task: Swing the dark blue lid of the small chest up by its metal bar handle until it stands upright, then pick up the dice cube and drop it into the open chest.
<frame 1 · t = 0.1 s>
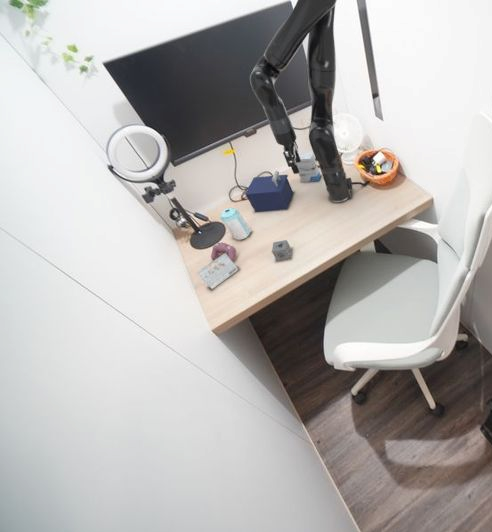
hand: (297, 167, 128), 17 cm above the table, tool pointing down, fingers open, 8 cm apart
lid: (265, 180, 135), point 11 cm above the table, hinge at 0.0°
ink box: (311, 178, 153), on the table
ink box 2: (224, 278, 117), on the table
dice cube: (284, 255, 121), on the table
can: (243, 235, 132), on the table
video game controller: (227, 257, 124), on the table
chest: (274, 202, 144), on the table
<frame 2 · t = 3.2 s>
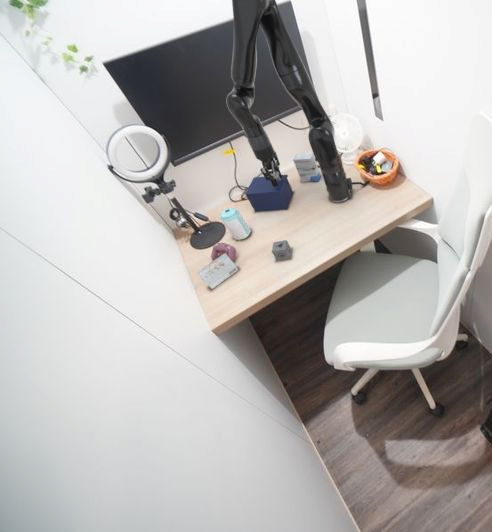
hand: (277, 181, 136), 10 cm above the table, tool pointing down, fingers closed on lid, 5 cm apart
lid: (265, 180, 135), point 11 cm above the table, hinge at 0.0°, touching gripper
everything else where it was.
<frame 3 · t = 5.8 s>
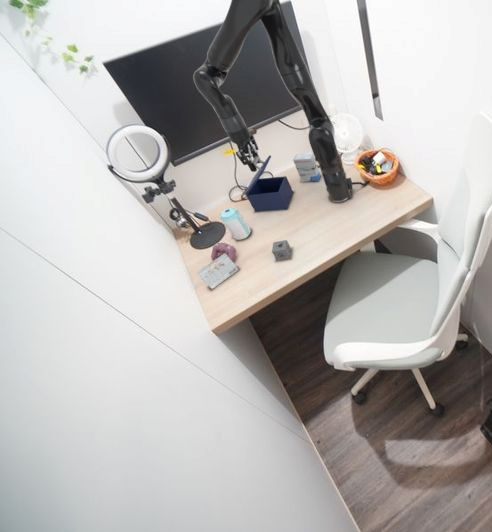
hand: (256, 166, 130), 18 cm above the table, tool pointing down, fingers closed on lid, 5 cm apart
lid: (253, 172, 132), point 16 cm above the table, hinge at 40.0°, touching gripper
everything else where it was.
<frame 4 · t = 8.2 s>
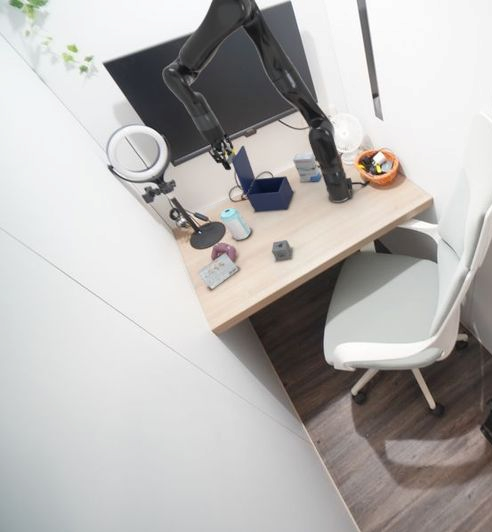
hand: (231, 165, 130), 20 cm above the table, tool pointing down, fingers closed on lid, 5 cm apart
lid: (239, 170, 132), point 17 cm above the table, hinge at 80.9°, touching gripper
everything else where it was.
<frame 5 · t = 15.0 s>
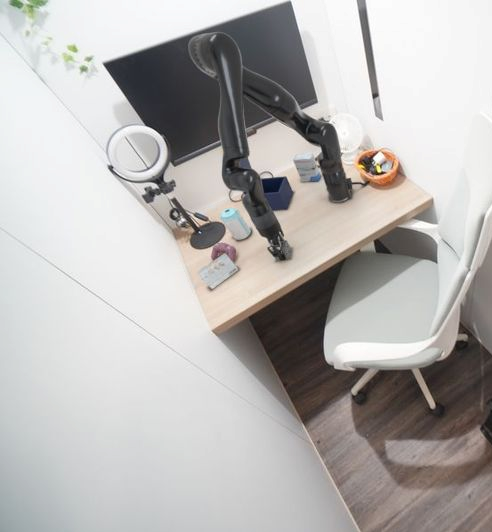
hand: (284, 254, 121), 0 cm above the table, tool pointing down, fingers closed on dice cube, 5 cm apart
lid: (239, 170, 132), point 17 cm above the table, hinge at 81.4°
dice cube: (284, 255, 121), on the table, touching gripper
everything else where it was.
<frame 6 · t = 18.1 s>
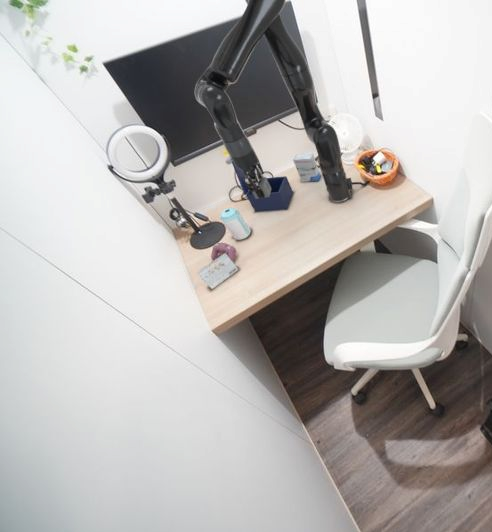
hand: (263, 192, 116), 19 cm above the table, tool pointing down, fingers closed on dice cube, 5 cm apart
dice cube: (264, 194, 116), point 18 cm above the table, touching gripper
everything else where it was.
when the fingers open (15 cm above the table, at t = 21.6 s): dice cube drops 14 cm, resting on chest.
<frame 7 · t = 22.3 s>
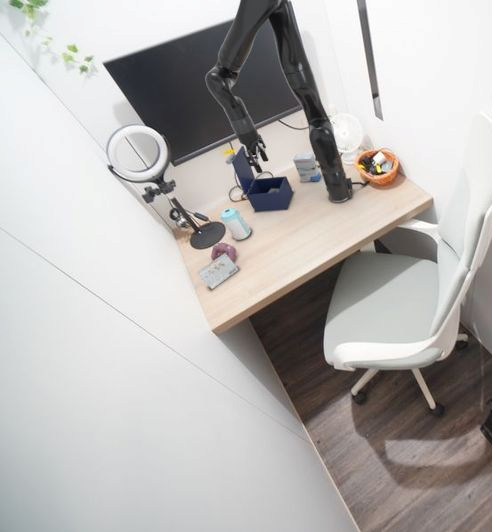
hand: (263, 166, 130), 18 cm above the table, tool pointing down, fingers open, 8 cm apart
dice cube: (278, 201, 143), point 1 cm above the table, touching chest
everything else where it was.
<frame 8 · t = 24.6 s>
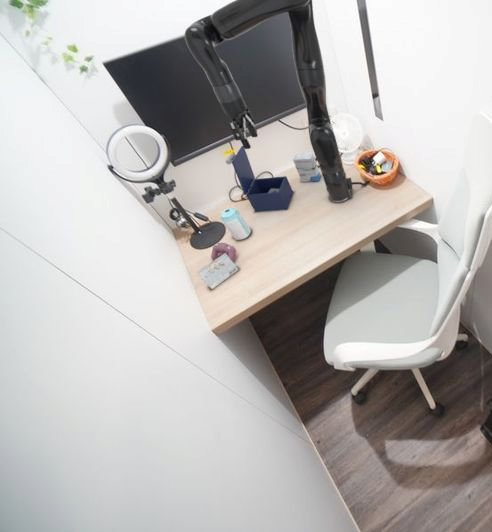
hand: (251, 142, 119), 30 cm above the table, tool pointing down, fingers open, 8 cm apart
nothing on the table moved.
at the end: lid at +81° (first picture: +0°); dice cube inside the target area in the chest (2.1 cm from its centre), point 0.6 cm above the chest's base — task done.
